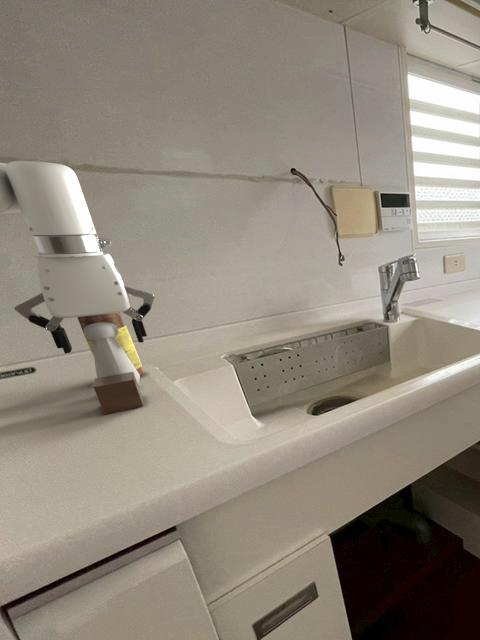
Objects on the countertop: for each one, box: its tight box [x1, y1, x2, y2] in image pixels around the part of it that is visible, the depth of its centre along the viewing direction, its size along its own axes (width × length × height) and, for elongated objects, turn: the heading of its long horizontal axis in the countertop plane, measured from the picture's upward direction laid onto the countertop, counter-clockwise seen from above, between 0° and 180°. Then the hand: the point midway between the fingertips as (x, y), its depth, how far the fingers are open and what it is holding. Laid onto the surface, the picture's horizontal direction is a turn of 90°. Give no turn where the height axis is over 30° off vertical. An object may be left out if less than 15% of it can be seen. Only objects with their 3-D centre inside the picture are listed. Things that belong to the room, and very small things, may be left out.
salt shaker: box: [83, 323, 141, 384], centre depth 73 cm, size 6×6×13 cm
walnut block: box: [93, 372, 144, 415], centre depth 69 cm, size 5×5×5 cm
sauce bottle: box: [76, 312, 144, 377], centre depth 78 cm, size 6×6×20 cm
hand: (106, 345), depth 72 cm, fingers open, 9 cm apart
